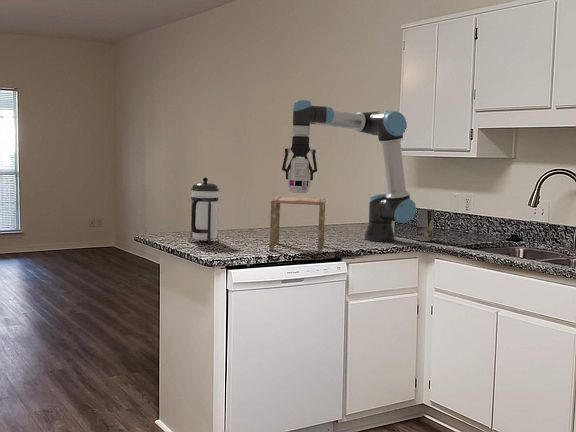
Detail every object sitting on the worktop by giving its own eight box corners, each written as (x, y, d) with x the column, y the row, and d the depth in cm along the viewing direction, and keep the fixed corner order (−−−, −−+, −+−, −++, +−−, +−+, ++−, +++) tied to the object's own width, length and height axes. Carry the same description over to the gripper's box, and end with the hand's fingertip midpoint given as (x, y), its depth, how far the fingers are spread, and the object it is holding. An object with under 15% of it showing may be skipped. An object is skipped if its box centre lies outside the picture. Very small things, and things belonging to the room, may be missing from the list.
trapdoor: (319, 204, 318) (319, 198, 318) (318, 207, 300) (318, 201, 300) (280, 202, 319) (281, 197, 319) (277, 205, 301) (277, 200, 301)
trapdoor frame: (323, 245, 322) (325, 198, 320) (322, 253, 299) (324, 202, 297) (274, 243, 324) (276, 196, 322) (269, 250, 301) (271, 200, 299)
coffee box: (428, 242, 346) (430, 210, 345) (415, 241, 349) (417, 209, 347) (432, 240, 354) (434, 209, 353) (420, 239, 357) (422, 208, 356)
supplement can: (286, 192, 304) (287, 158, 302) (295, 191, 311) (297, 158, 309) (301, 193, 299) (303, 158, 298) (311, 192, 306) (312, 159, 305)
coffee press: (181, 240, 325) (183, 176, 322) (214, 239, 331) (216, 176, 328) (191, 245, 309) (193, 178, 306) (225, 244, 315) (227, 178, 312)
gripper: (325, 136, 305) (323, 187, 308) (277, 135, 307) (276, 186, 309) (324, 136, 298) (322, 188, 300) (276, 134, 300) (274, 187, 302)
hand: (299, 187), depth 305 cm, fingers closed on supplement can, 8 cm apart
